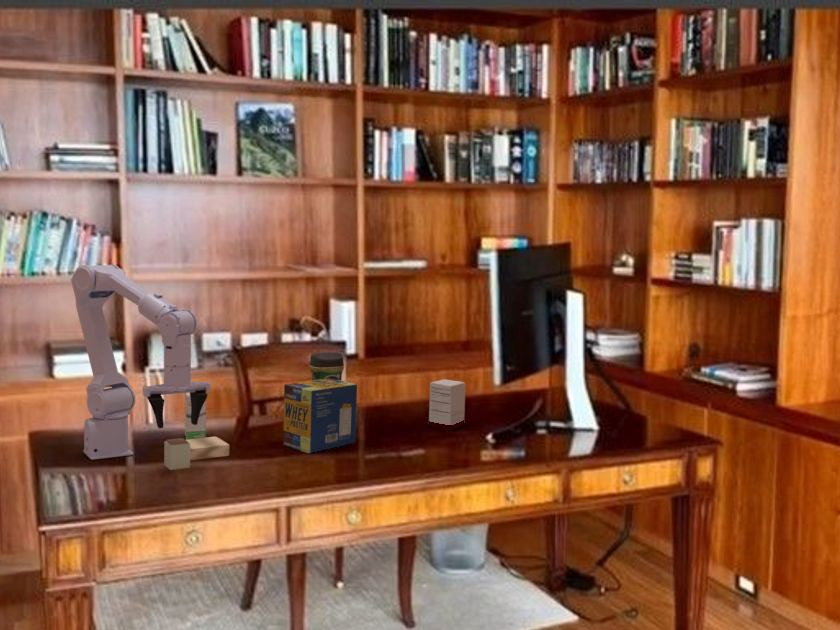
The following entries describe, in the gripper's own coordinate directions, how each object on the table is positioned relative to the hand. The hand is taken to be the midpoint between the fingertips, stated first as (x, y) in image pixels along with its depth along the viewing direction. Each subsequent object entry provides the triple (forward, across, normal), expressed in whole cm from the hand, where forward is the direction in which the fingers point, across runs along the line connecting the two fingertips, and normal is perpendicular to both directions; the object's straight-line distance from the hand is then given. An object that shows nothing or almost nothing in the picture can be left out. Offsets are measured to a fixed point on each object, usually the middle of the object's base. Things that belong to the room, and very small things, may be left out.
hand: (177, 425), depth 192 cm
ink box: (+9, +12, +23) cm, 28 cm away
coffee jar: (+9, +53, +31) cm, 62 cm away
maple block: (+10, +9, +8) cm, 16 cm away
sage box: (+9, 0, 0) cm, 9 cm away
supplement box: (+10, +77, +5) cm, 78 cm away
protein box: (+10, +37, +3) cm, 38 cm away
